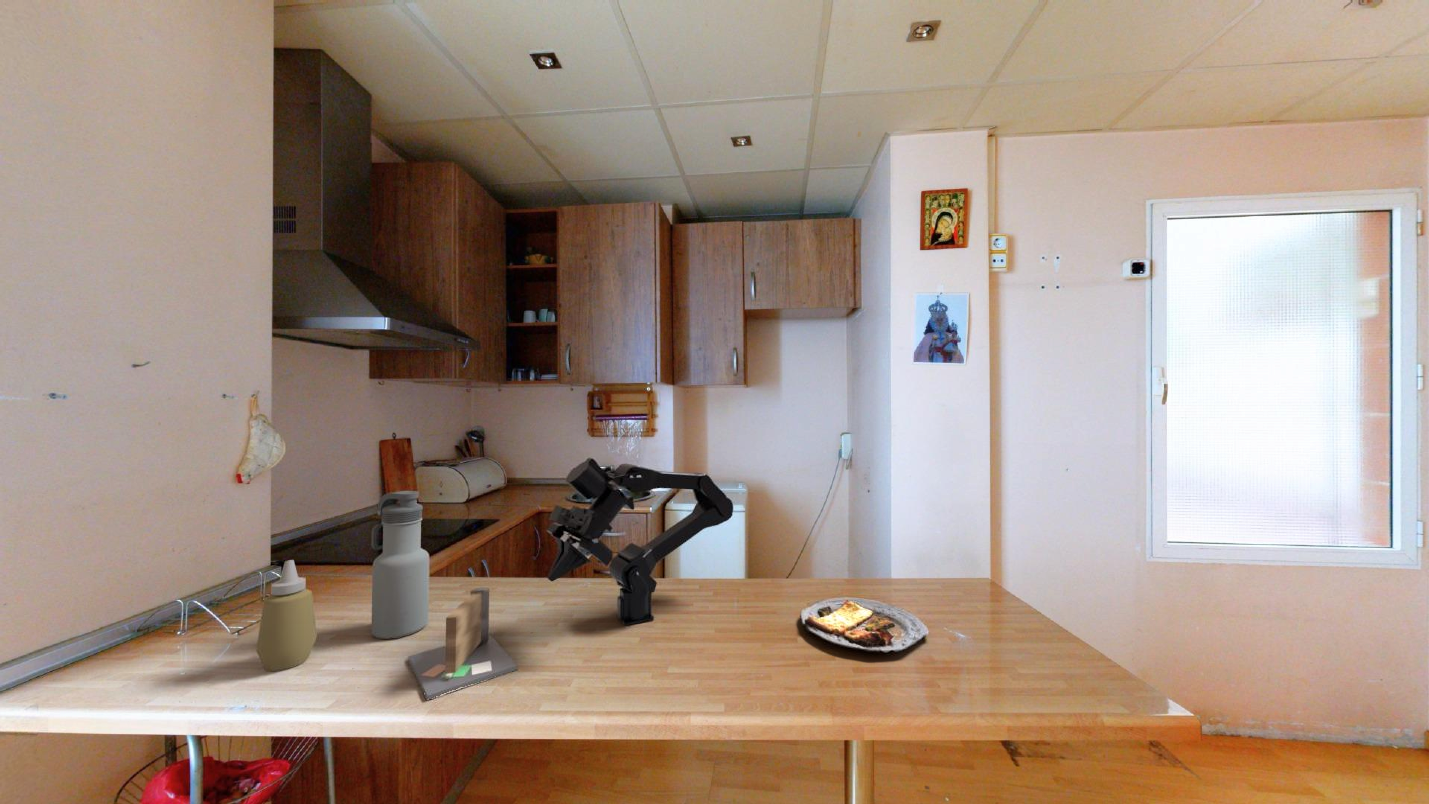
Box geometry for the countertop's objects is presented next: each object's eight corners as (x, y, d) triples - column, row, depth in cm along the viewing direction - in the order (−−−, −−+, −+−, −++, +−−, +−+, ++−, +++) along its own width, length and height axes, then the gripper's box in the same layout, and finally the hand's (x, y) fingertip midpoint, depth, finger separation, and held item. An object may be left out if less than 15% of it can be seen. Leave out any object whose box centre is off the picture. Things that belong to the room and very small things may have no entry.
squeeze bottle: (247, 680, 79) (249, 571, 80) (265, 658, 86) (267, 557, 87) (309, 668, 83) (311, 564, 83) (321, 648, 90) (323, 552, 91)
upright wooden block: (474, 636, 92) (474, 587, 92) (491, 636, 93) (491, 587, 93) (437, 678, 78) (438, 620, 78) (457, 678, 78) (458, 619, 78)
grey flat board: (408, 660, 86) (408, 655, 86) (488, 637, 95) (488, 632, 95) (427, 701, 74) (427, 695, 74) (517, 670, 83) (517, 664, 83)
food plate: (881, 674, 82) (881, 653, 82) (777, 629, 99) (777, 611, 99) (944, 633, 98) (944, 616, 98) (846, 601, 116) (846, 586, 116)
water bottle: (358, 634, 96) (361, 494, 96) (406, 615, 105) (408, 487, 105) (392, 644, 92) (395, 497, 92) (439, 623, 101) (441, 490, 101)
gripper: (556, 484, 103) (502, 545, 95) (598, 495, 89) (539, 568, 81) (589, 515, 108) (541, 576, 100) (634, 530, 94) (582, 602, 86)
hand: (549, 579), depth 92 cm, fingers closed
